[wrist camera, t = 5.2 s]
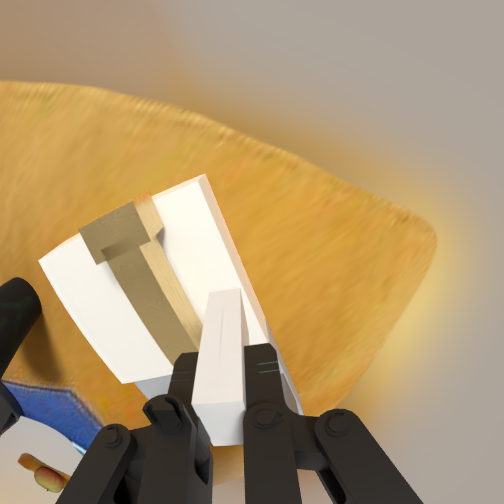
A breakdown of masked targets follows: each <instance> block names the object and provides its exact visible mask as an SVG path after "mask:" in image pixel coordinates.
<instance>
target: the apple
mask: <svg viewBox="0 0 504 504" xmlns="http://www.w3.org/2000/svg"><path fill="white" fill-rule="evenodd" d="M34 477H35V480H36V482H37V483H38V484H39V485H40V486H42V487H43V488H45V489H47V491H48V490H49V491H51V492H54V493H58V492H60V491H61V490H62V489H63V485H64V484H63V480H62V478H61V477H60V476H59V474H57V473H56V472H54V471H53V470H51V469H49V468H46V467H40V468H38V469H36V471H35V474H34Z"/></svg>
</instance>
